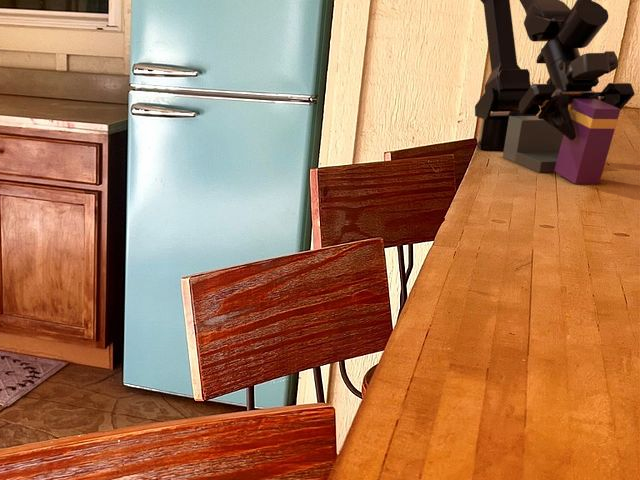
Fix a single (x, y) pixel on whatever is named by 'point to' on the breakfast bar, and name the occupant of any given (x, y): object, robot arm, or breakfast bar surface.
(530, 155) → the grey l-shaped stand
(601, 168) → the chocolate box
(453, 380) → the breakfast bar surface
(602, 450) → the breakfast bar surface
